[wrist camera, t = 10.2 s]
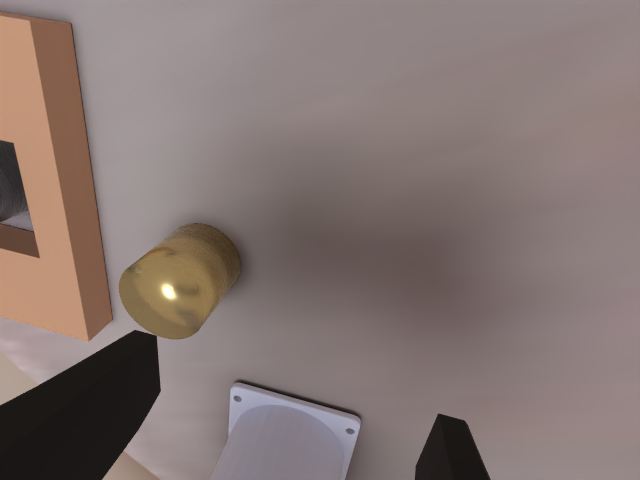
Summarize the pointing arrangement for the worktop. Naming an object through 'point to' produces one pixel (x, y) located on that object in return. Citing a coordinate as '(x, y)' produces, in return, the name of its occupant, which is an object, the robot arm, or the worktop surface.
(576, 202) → the worktop surface
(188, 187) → the worktop surface
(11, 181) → the long steel pin
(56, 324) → the hole board
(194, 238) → the short brass pin
